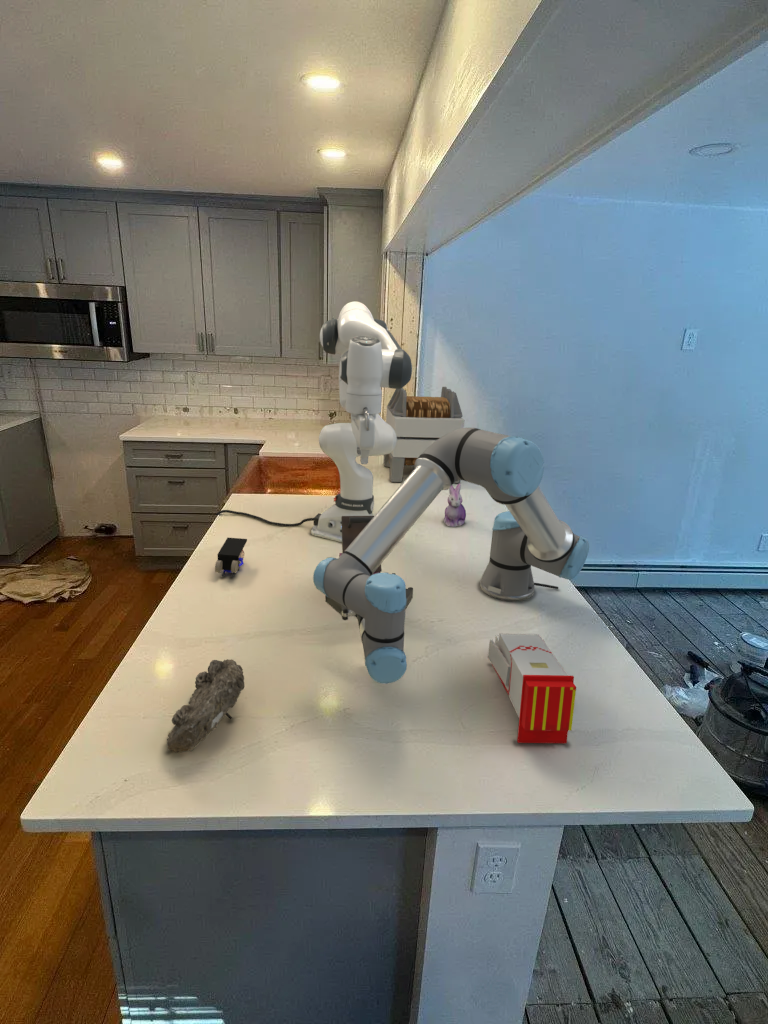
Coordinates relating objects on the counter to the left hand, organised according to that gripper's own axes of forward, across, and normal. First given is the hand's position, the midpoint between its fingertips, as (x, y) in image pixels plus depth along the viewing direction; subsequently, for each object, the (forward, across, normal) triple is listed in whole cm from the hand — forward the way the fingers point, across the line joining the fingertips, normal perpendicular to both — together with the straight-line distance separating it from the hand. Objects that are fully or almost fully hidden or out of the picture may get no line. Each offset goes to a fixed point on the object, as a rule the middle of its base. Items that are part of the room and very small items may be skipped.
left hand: (362, 458), depth 146 cm
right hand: (+25, -18, 0) cm, 31 cm away
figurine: (+38, +51, -41) cm, 76 cm away
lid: (+22, -4, 0) cm, 23 cm away
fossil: (+38, -49, +33) cm, 70 cm away
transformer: (+38, +118, -42) cm, 131 cm away
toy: (+38, -49, -29) cm, 69 cm away
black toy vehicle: (+38, +15, +36) cm, 54 cm away
